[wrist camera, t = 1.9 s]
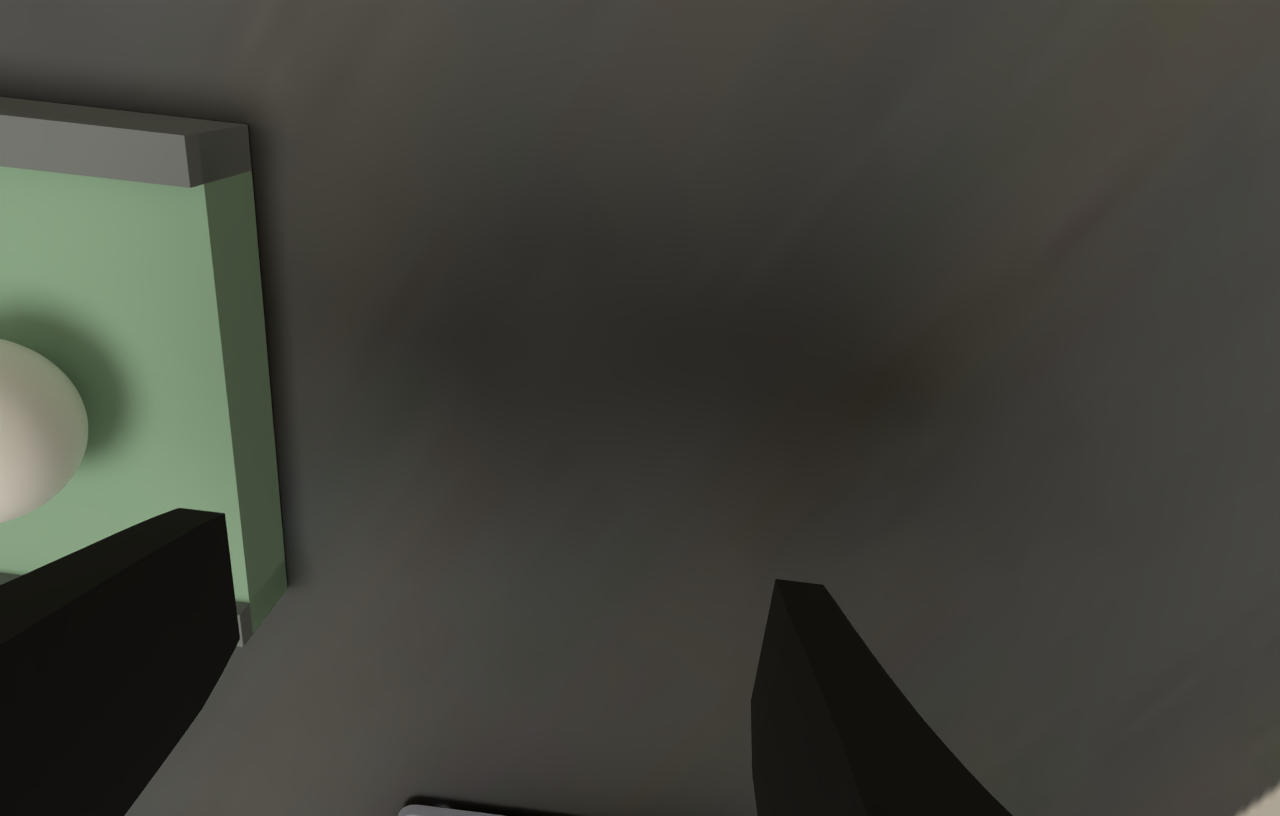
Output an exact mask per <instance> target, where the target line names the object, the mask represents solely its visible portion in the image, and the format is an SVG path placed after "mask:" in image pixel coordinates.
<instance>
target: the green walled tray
mask: <svg viewBox="0 0 1280 816" xmlns="http://www.w3.org/2000/svg"><path fill="white" fill-rule="evenodd" d="M0 339H3V340H7V341H10V342H14V343H16V344H19V345H22V346H24V347H27V348H29V349H31V350H33V351H35V352H37V353H39V354H41V355H42V356H44V357H45V358H47V359H48V360H50V361H51V362H52V363H53V364H55V365H56V366H57V367H58V368H59V369H60V370H61V371H62V372H64V373H65V374H66V376H67V377H68V378H69V379H70V380H71V382H72V383H73V385H74V386H75V387H76V389H77V391H78V393H79V395H80V396H81V399H82V401H83V404H84V406H85V410H86V414H87V419H88V441H87V446H86V450H85V453H84V456H83V459H82V462H81V464H80V466H79V467H78V469H77V471H76V472H75V474H74V476H73V477H72V479H71V480H70V481H69V482H68V483H67V485H66V486H65V487H64V488H63V489H62V490H61V491H60V492H59V493H58V494H57V495H55V496H54V497H53V498H52V499H51V500H49V501H48V502H47V503H45V504H44V505H42V506H41V507H39V508H37V509H35V510H34V511H32V512H30V513H28V514H26V515H23V516H21V517H19V518H16V519H13V520H10V521H7V522H3V523H0V585H2V584H4V583H6V582H8V581H11V580H13V579H15V578H17V577H20V576H22V575H24V574H26V573H29V572H31V571H33V570H35V569H37V568H40V567H42V566H44V565H46V564H49V563H51V562H53V561H55V560H58V559H60V558H62V557H64V556H66V555H69V554H71V553H73V552H75V551H78V550H80V549H82V548H84V547H86V546H89V545H91V544H93V543H95V542H97V541H100V540H102V539H104V538H106V537H109V536H111V535H113V534H115V533H118V532H120V531H122V530H124V529H127V528H129V527H131V526H134V525H136V524H138V523H141V522H143V521H145V520H148V519H150V518H153V517H155V516H158V515H160V514H163V513H166V512H169V511H171V510H174V509H177V508H186V509H194V510H202V511H211V512H219V513H225V518H226V526H227V534H228V542H229V551H230V559H231V567H232V575H233V584H234V592H235V600H236V609H237V617H238V625H239V633H240V640H239V642H238V644H237V646H239V647H244V645H245V644H246V643H247V641H248V640H249V639H250V637H251V636H252V635H253V633H254V632H255V631H256V630H257V628H258V627H259V626H260V624H261V623H262V622H263V620H264V619H265V618H266V616H267V615H268V614H269V612H270V611H271V610H272V608H273V607H274V606H275V604H276V603H277V602H278V600H279V599H280V598H281V596H282V595H283V594H284V592H285V591H286V590H287V578H286V566H285V554H284V543H283V531H282V519H281V508H280V496H279V484H278V473H277V461H276V449H275V437H274V426H273V414H272V402H271V391H270V379H269V367H268V356H267V344H266V332H265V321H264V309H263V297H262V286H261V274H260V262H259V251H258V239H257V227H256V216H255V204H254V192H253V181H252V169H251V157H250V145H249V134H248V125H247V124H238V123H229V122H220V121H211V120H203V119H194V118H185V117H176V116H167V115H158V114H149V113H140V112H131V111H123V110H114V109H105V108H96V107H87V106H78V105H69V104H60V103H51V102H43V101H34V100H25V99H16V98H7V97H0Z"/></svg>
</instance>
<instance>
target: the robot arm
mask: <svg viewBox="0 0 1280 816" xmlns="http://www.w3.org/2000/svg"><path fill="white" fill-rule="evenodd" d="M239 640H240V633H239V625H238V617H237V609H236V600H235V592H234V584H233V575H232V567H231V559H230V551H229V542H228V534H227V526H226V518H225V513H219V512H211V511H202V510H194V509H186V508H177V509H174V510H171V511H169V512H166V513H163V514H160V515H158V516H155V517H153V518H150V519H148V520H145V521H143V522H141V523H138V524H136V525H134V526H131V527H129V528H127V529H124V530H122V531H120V532H118V533H115V534H113V535H111V536H109V537H106V538H104V539H102V540H100V541H97V542H95V543H93V544H91V545H89V546H86V547H84V548H82V549H80V550H78V551H75V552H73V553H71V554H69V555H66V556H64V557H62V558H60V559H58V560H55V561H53V562H51V563H49V564H46V565H44V566H42V567H40V568H37V569H35V570H33V571H31V572H29V573H26V574H24V575H22V576H20V577H17V578H15V579H13V580H11V581H8V582H6V583H4V584H2V585H0V816H124V815H125V814H126V813H127V811H128V810H129V808H130V807H131V806H132V804H133V803H134V802H135V800H136V799H137V798H138V796H139V795H140V794H141V792H142V791H143V790H144V788H145V787H146V785H147V784H148V783H149V781H150V780H151V779H152V777H153V776H154V775H155V773H156V772H157V771H158V769H159V768H160V766H161V765H162V764H163V762H164V761H165V760H166V758H167V757H168V755H169V754H170V753H171V751H172V750H173V749H174V747H175V746H176V744H177V743H178V742H179V740H180V739H181V737H182V736H183V735H184V733H185V732H186V731H187V729H188V728H189V726H190V725H191V724H192V722H193V721H194V719H195V718H196V716H197V715H198V714H199V712H200V711H201V709H202V708H203V706H204V704H205V703H206V701H207V699H208V697H209V696H210V694H211V692H212V690H213V689H214V687H215V685H216V683H217V682H218V680H219V678H220V676H221V674H222V673H223V671H224V669H225V667H226V665H227V663H228V661H229V659H230V657H231V655H232V653H233V652H234V650H235V648H236V646H237V644H238V642H239ZM751 732H752V772H753V783H754V791H755V798H756V806H757V813H758V816H1012V815H1011V814H1010V813H1009V812H1008V811H1007V810H1006V809H1005V808H1004V807H1003V806H1002V805H1001V804H1000V803H999V802H998V801H997V800H996V799H995V798H994V797H993V796H992V795H991V794H990V793H989V792H988V791H987V790H986V789H985V788H984V787H983V786H982V785H981V784H980V783H979V782H978V781H977V779H976V778H975V777H974V776H973V775H972V774H971V773H970V772H969V771H968V770H967V769H966V768H965V767H964V766H963V764H962V763H961V762H960V761H959V760H958V759H957V758H956V757H955V755H954V754H953V753H952V752H951V751H950V750H949V749H948V747H947V746H946V745H945V744H944V743H943V742H942V741H941V739H940V738H939V737H938V736H937V735H936V734H935V733H934V731H933V730H932V729H931V728H930V727H929V726H928V725H927V723H926V722H925V721H924V720H923V718H922V717H921V716H920V715H919V714H918V712H917V711H916V710H915V709H914V707H913V706H912V705H911V703H910V702H909V701H908V700H907V698H906V697H905V696H904V695H903V693H902V692H901V691H900V689H899V688H898V687H897V686H896V684H895V683H894V682H893V680H892V679H891V678H890V677H889V675H888V674H887V673H886V671H885V670H884V669H883V667H882V666H881V665H880V663H879V662H878V661H877V659H876V658H875V657H874V655H873V654H872V652H871V651H870V650H869V648H868V647H867V646H866V644H865V643H864V641H863V640H862V639H861V637H860V636H859V634H858V633H857V632H856V630H855V629H854V627H853V626H852V625H851V623H850V622H849V620H848V619H847V617H846V616H845V615H844V613H843V612H842V610H841V609H840V607H839V606H838V605H837V603H836V602H835V600H834V599H833V598H832V596H831V595H830V593H829V592H828V591H827V589H826V588H825V587H824V586H823V585H821V584H812V583H804V582H796V581H787V580H779V579H776V580H775V585H774V590H773V595H772V600H771V605H770V610H769V615H768V620H767V625H766V630H765V635H764V640H763V644H762V649H761V654H760V659H759V664H758V669H757V674H756V679H755V684H754V689H753V694H752V699H751ZM398 816H505V815H497V814H489V813H481V812H473V811H465V810H457V809H449V808H441V807H433V806H425V805H409V806H406V807H403V808H402V809H401V810H400V811H399V814H398Z"/></svg>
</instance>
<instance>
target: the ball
mask: <svg viewBox="0 0 1280 816" xmlns="http://www.w3.org/2000/svg"><path fill="white" fill-rule="evenodd" d="M87 441H88V419H87V414H86V410H85V406H84V404H83V401H82V399H81V396H80V395H79V393H78V391H77V389H76V387H75V386H74V385H73V383H72V382H71V380H70V379H69V378H68V377H67V376H66V374H65V373H64V372H62V371H61V370H60V369H59V368H58V367H57V366H56V365H55V364H53V363H52V362H51V361H50V360H48V359H47V358H45V357H44V356H42V355H41V354H39V353H37V352H35V351H33V350H31V349H29V348H27V347H24V346H22V345H19V344H16V343H14V342H10V341H7V340H3V339H0V523H3V522H7V521H10V520H13V519H16V518H19V517H21V516H23V515H26V514H28V513H30V512H32V511H34V510H35V509H37V508H39V507H41V506H42V505H44V504H45V503H47V502H48V501H49V500H51V499H52V498H53V497H54V496H55V495H57V494H58V493H59V492H60V491H61V490H62V489H63V488H64V487H65V486H66V485H67V483H68V482H69V481H70V480H71V479H72V477H73V476H74V474H75V472H76V471H77V469H78V467H79V466H80V464H81V462H82V459H83V456H84V453H85V450H86V446H87Z"/></svg>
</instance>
